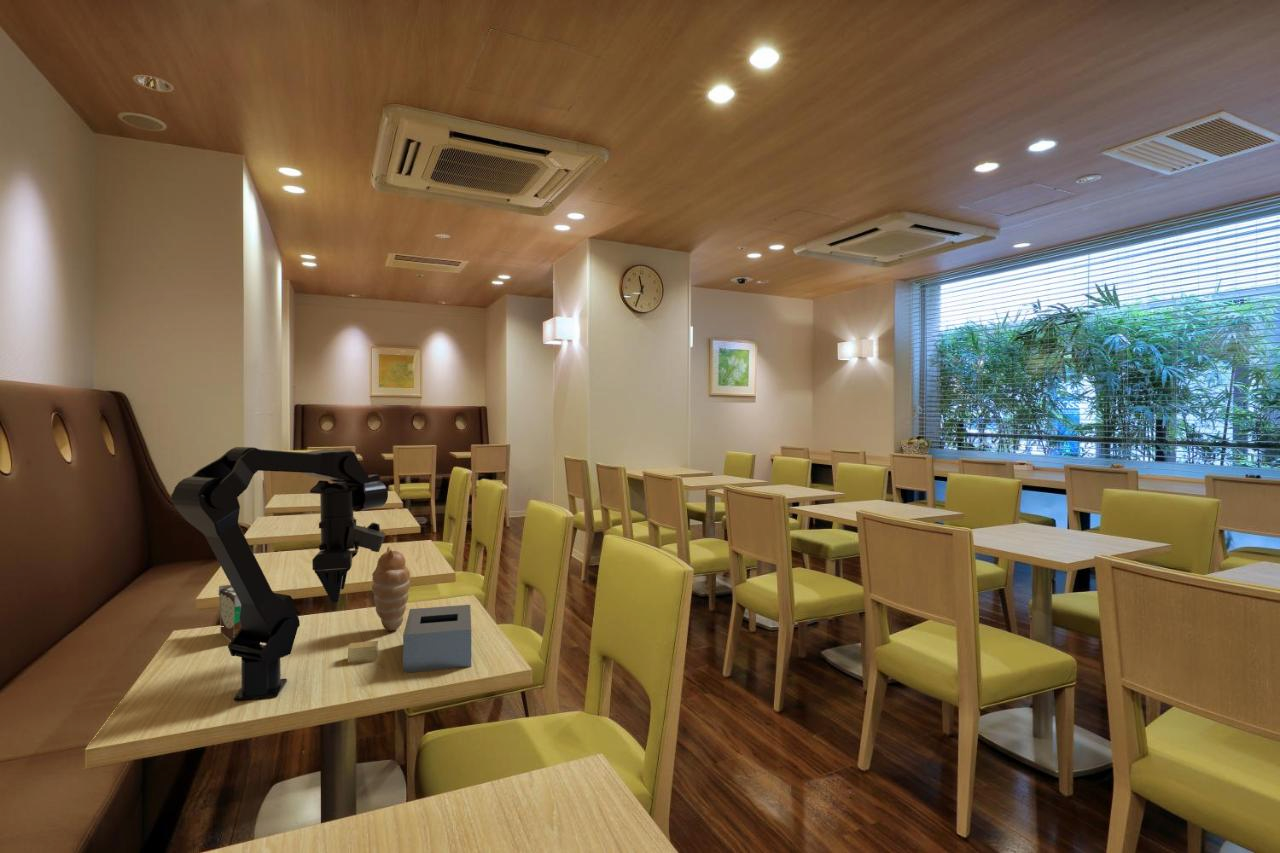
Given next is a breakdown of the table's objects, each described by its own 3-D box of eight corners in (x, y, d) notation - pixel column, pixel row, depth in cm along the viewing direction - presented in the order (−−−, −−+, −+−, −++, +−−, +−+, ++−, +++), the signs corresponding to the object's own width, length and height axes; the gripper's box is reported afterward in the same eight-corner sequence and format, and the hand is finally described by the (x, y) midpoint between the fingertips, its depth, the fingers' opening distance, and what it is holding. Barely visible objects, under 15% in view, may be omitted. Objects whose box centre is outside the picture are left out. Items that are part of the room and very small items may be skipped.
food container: (269, 638, 134) (269, 590, 134) (235, 646, 130) (235, 596, 129) (250, 624, 142) (250, 580, 142) (218, 631, 138) (218, 585, 138)
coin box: (471, 666, 120) (471, 629, 119) (403, 673, 116) (403, 634, 116) (470, 637, 135) (470, 604, 135) (410, 642, 132) (410, 609, 132)
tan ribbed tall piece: (370, 627, 141) (370, 546, 141) (407, 621, 145) (407, 542, 145) (373, 639, 133) (373, 553, 133) (413, 633, 137) (413, 550, 137)
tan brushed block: (376, 661, 122) (376, 645, 122) (347, 664, 121) (347, 648, 121) (378, 655, 125) (377, 640, 125) (350, 658, 124) (350, 643, 124)
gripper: (379, 520, 116) (380, 605, 117) (384, 505, 134) (385, 579, 134) (311, 524, 113) (312, 611, 113) (326, 508, 130) (327, 584, 131)
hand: (338, 595), depth 123 cm, fingers open, 9 cm apart
